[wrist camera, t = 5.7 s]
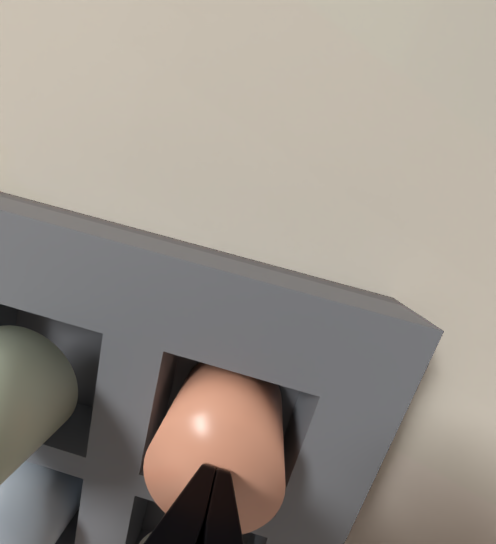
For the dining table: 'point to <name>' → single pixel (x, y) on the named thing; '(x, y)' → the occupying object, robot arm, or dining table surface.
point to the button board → (210, 350)
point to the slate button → (37, 504)
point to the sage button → (31, 394)
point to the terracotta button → (222, 442)
